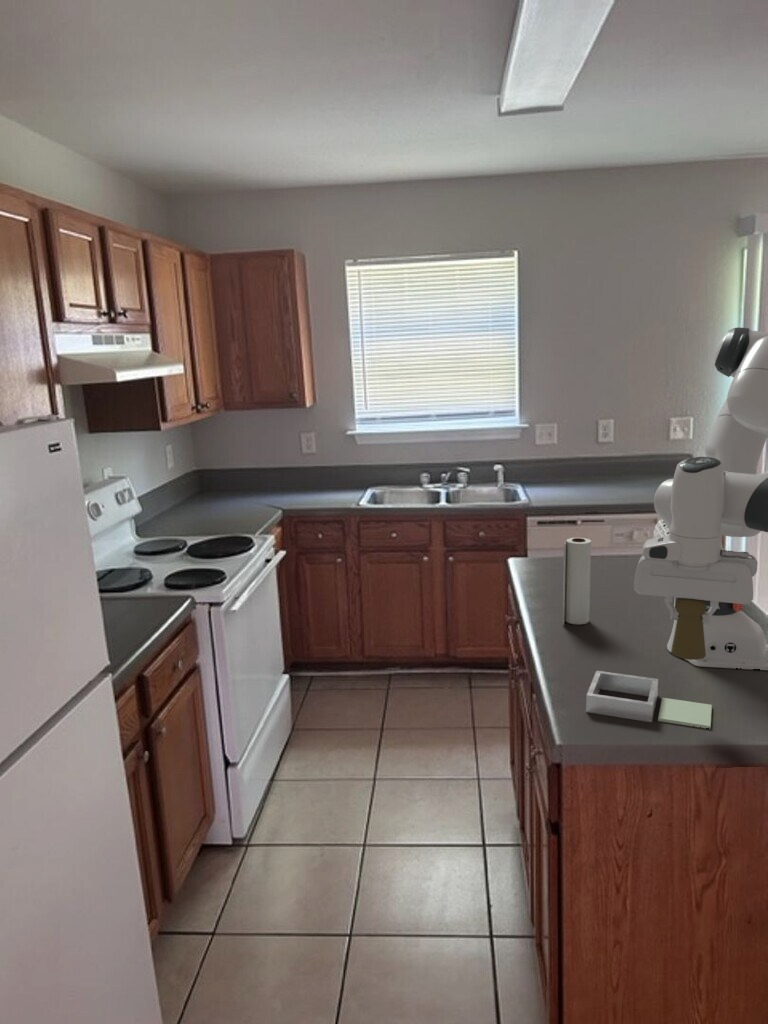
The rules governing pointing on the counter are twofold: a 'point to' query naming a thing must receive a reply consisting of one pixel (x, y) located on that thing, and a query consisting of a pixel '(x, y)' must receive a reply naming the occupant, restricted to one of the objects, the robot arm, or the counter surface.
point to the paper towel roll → (576, 580)
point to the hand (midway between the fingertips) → (690, 620)
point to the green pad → (685, 713)
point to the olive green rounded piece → (689, 629)
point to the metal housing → (622, 705)
